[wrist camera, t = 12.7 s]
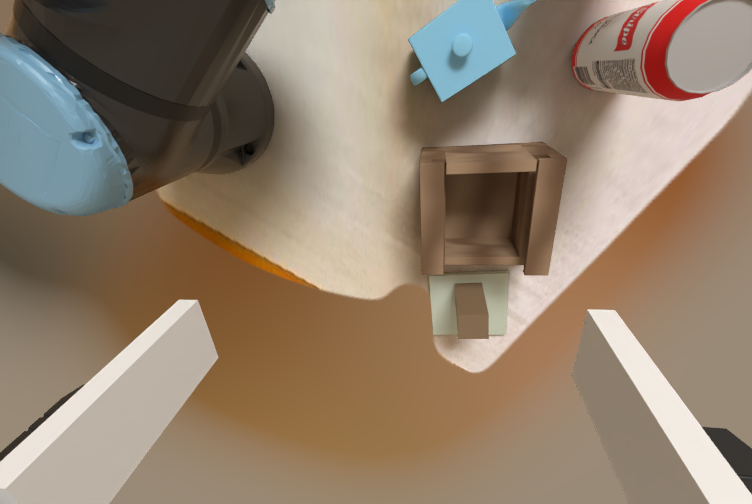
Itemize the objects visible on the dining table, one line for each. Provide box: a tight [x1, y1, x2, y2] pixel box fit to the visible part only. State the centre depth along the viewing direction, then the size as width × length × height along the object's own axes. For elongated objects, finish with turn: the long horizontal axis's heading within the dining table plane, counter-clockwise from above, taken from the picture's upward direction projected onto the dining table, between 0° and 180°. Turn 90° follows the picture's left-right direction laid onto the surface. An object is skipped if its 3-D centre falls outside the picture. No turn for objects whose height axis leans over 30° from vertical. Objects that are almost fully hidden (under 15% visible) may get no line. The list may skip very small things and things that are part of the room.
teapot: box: [408, 0, 537, 103], centre depth 33 cm, size 12×6×8 cm, turn 123°
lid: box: [429, 271, 509, 339], centre depth 46 cm, size 10×10×8 cm
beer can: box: [572, 0, 752, 101], centre depth 28 cm, size 6×6×16 cm
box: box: [420, 142, 567, 275], centre depth 39 cm, size 13×12×8 cm
